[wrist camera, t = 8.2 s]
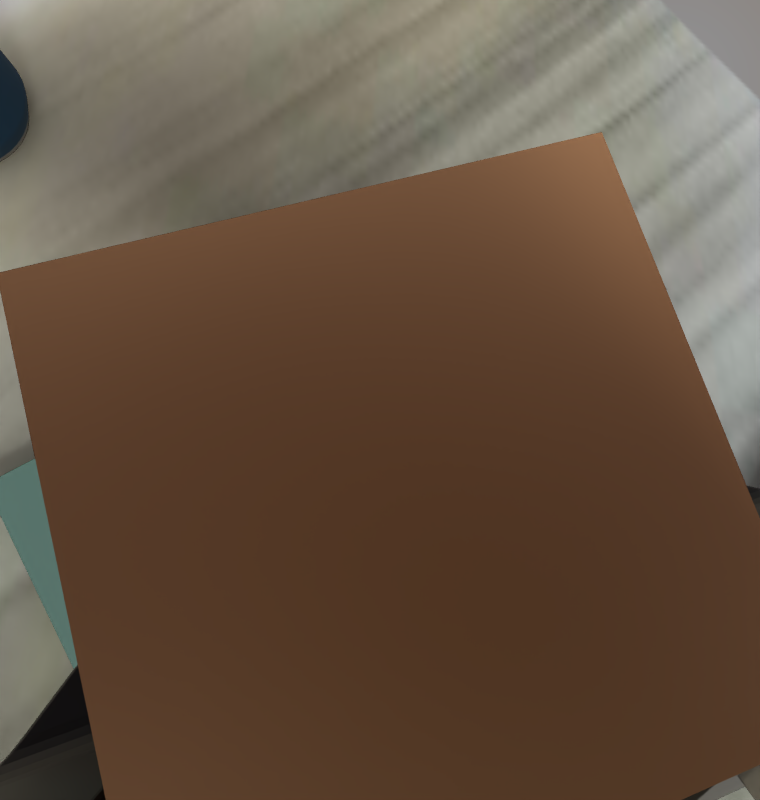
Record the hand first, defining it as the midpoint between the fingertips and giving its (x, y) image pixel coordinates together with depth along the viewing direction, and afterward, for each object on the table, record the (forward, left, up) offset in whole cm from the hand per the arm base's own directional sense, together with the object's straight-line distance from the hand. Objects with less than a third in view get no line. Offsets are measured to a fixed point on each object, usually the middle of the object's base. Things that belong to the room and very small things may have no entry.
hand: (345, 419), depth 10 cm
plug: (-1, 0, -7) cm, 7 cm away
